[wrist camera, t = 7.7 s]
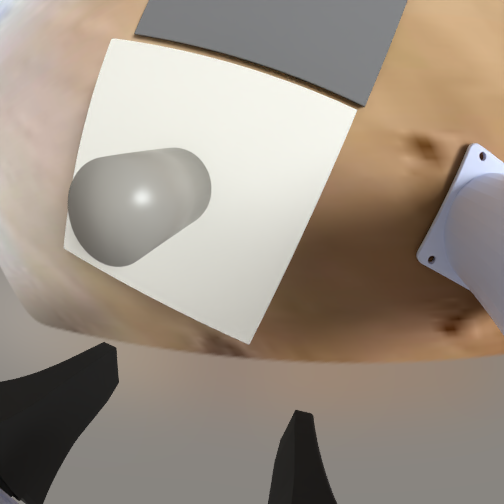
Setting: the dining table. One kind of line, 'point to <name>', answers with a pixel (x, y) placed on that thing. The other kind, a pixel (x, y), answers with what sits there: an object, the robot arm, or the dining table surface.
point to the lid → (199, 180)
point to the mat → (287, 36)
